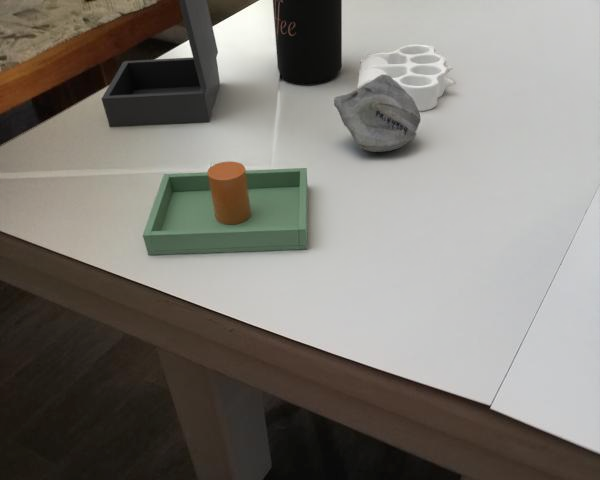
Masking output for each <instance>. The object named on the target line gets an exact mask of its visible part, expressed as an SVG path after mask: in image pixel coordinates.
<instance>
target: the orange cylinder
mask: <svg viewBox="0 0 600 480" xmlns="http://www.w3.org/2000/svg"><path fill="white" fill-rule="evenodd" d="M246 171H247V169H246V166H245V165H244V164H243V163H240V162H237V161H222V162H218V163H215V164H213V165H211V166H210V167H209V169H208V170H207V172H208V179H209V185H210V190H211V196H212V201H213V207H214V213H215V218H216V220H217V221H218V222H220V223H222V224H227V225H233V224H239V223H242V222H244V221H246V220H247V219H248V218H249V217H250V215H251V209H250V201H249V193H248V185H247V178H246Z"/></svg>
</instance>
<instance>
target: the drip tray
mask: <svg viewBox="0 0 600 480" xmlns="http://www.w3.org/2000/svg"><path fill="white" fill-rule="evenodd" d="M246 178H247V185H248V193H249V201H250V209H251V215H250V217H249V218H248V219H247V220H246V221H244V222H242V223H239V224H233V225H227V224H222V223H220V222H218V221H217V220H216V218H215V213H214V207H213V201H212V196H211V190H210V185H209V179H208V171H206V172H205V171H204V172H203V171H202V172H183V173H163V176H162V178H161V182H160V185H159V187H158V190H157V193H156V196H155V199H154V202H153V204H152V207H151V210H150V213H149V216H148V219H147V221H146V225H145V228H144V231H143V233H142V238H143V242H144V245H145V248H146V253H147V255H148V256H158V255H160V256H161V255H183V254H184V255H185V254H211V253H213V254H214V253H215V254H216V253H237V252H238V253H241V251H243V252H263V251H264V252H265V251H266V252H268V251H269V252H270V251H291V250H293V251H295V250H307V249H308V193H309V192H308V190H309V189H308V187H309V186H308V168H307V167H296V168H273V169H271V168H270V169H251V170H250V169H249V170H247V169H246Z"/></svg>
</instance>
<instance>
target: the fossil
mask: <svg viewBox="0 0 600 480" xmlns="http://www.w3.org/2000/svg"><path fill="white" fill-rule="evenodd" d="M333 106H334V107H335V108H336V110H337V112H338V114H339V116H340V118H341V121H342V123H343V125H344V126H345V128H346V129H347V130H348V131H349V133H350V135H351V136H352V137H353V140H354V142H355V143H356V144H357V145H358V147H359V148H361V149H362V150H364V151H367V152H372V153H376V152H377V153H378V152H379V153H384V152H390V151H393V150H397V149H401V148H402V147H403V146H405V145H406V144H407V143H408V142H409V141H410V140H412V139H414V138H415V137H416V136H417V130H418V128H419V126H420V123H421V114H420V111H419V110H418V108H417V106H416V104H415V102H414V100H413V98H412V97H411V96H410V95H409V94H408V93H407V92H406V91H405V90H404V89H403V88H402V87H401V86H400V85H399V84H398V83H397V82H396V81H395V80H393V79H392V78H391V77H390V76H388V75H380V76H378V77H377V78H375V79H374V80H372V81H371V82H369V83H367V84H365V85H364V86H362V87H360V88H359V89H358V90H357V89H356V90H355V89H354V90H353V91H351V92H350V93H349V92H348V93H346V94H343V95H338V96H335V97H334V99H333Z"/></svg>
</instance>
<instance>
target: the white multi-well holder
mask: <svg viewBox="0 0 600 480" xmlns="http://www.w3.org/2000/svg"><path fill="white" fill-rule="evenodd" d="M359 63H360V65H359V71H358V81H357V85H356V91H357V90H358V89H359V88H360V87H362V86H364V85H365V84H367V83H369V82H371V81H372V80H374V79H375V78H377V77H378V76H380V75H388V76H390V77H391V78H392V79H393V80H395V81H396V82H397V83H398V84H399V85H400V86H401V87H402V88H403V89H404V90H405V91H406V92H407V93H408V94H409V95H410V96H411V97H412V98H413V100H414V102H415V104H416V106H417V108H418V110H419V112H424V111H425V112H426V111H429V110H431V109H434V108H435V107H436V106H437V105H438V99H439V98H440V97H442V96H443V94H444V93H445V90H446V88H448V87H450V86H453V85H454V84H456V82H455V81H454V80H452V79H450V78H449V77H448V73H449V72H450V71H452V70H453V69H454V68H453V67H451V66H449V65H447V59H445V57H444V56H443V55H440V54H437V53H436V48H435V47H434V46H432V45H427V44H415V43H414V44H408V45H403V46H401V47H399V48H398V49H397V50H394V51H390V52H389V51H388V52H386V51H385V52H383V51H381V52H375V53H370V54H367V55H366V56H364V57H363V58H362V59H360V61H359Z"/></svg>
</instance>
